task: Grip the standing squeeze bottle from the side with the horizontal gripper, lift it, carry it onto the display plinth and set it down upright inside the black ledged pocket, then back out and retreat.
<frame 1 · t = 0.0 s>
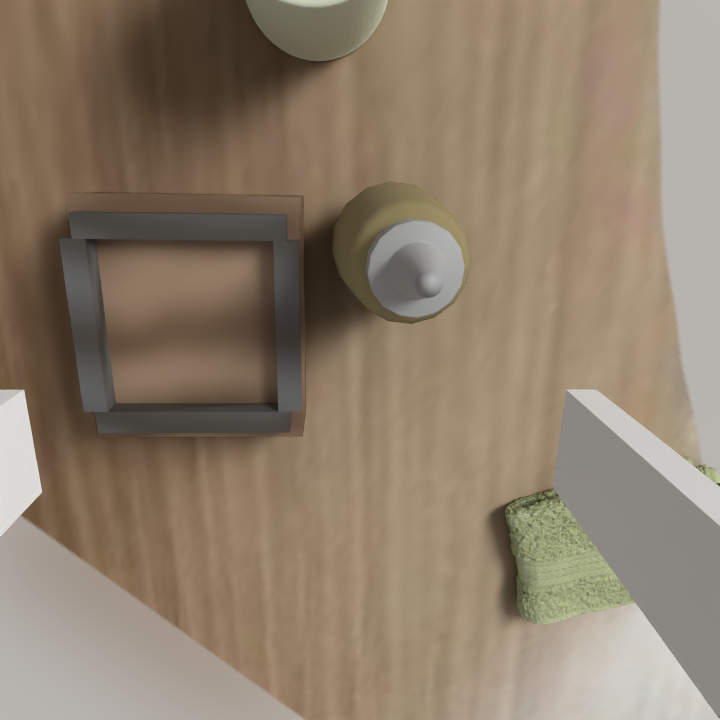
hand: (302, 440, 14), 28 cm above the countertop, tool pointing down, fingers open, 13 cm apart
washcloth: (603, 531, 49), on the countertop
squeeze bottle: (387, 240, 40), on the countertop
display plinth: (209, 307, 41), on the countertop
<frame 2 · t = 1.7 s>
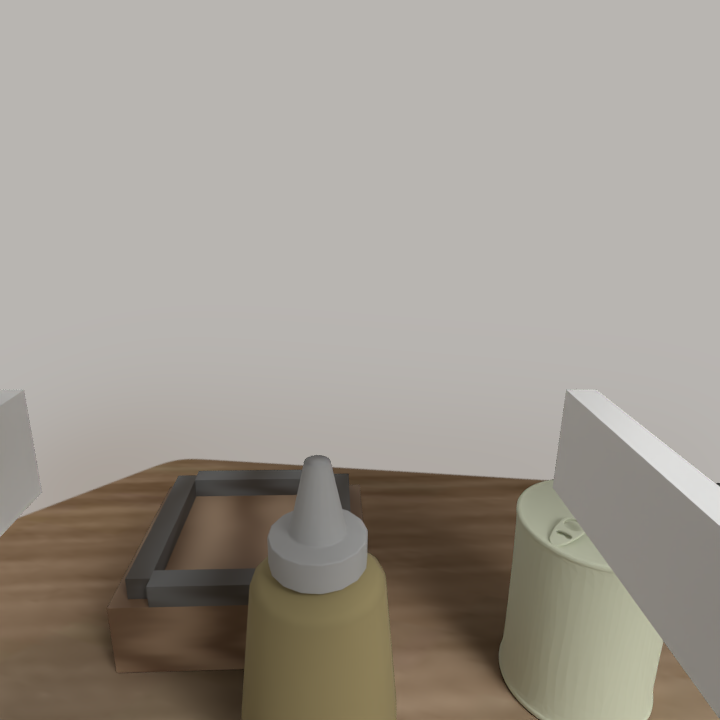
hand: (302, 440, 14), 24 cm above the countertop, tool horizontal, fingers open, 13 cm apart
can: (571, 675, 36), on the countertop
display plinth: (258, 592, 42), on the countertop
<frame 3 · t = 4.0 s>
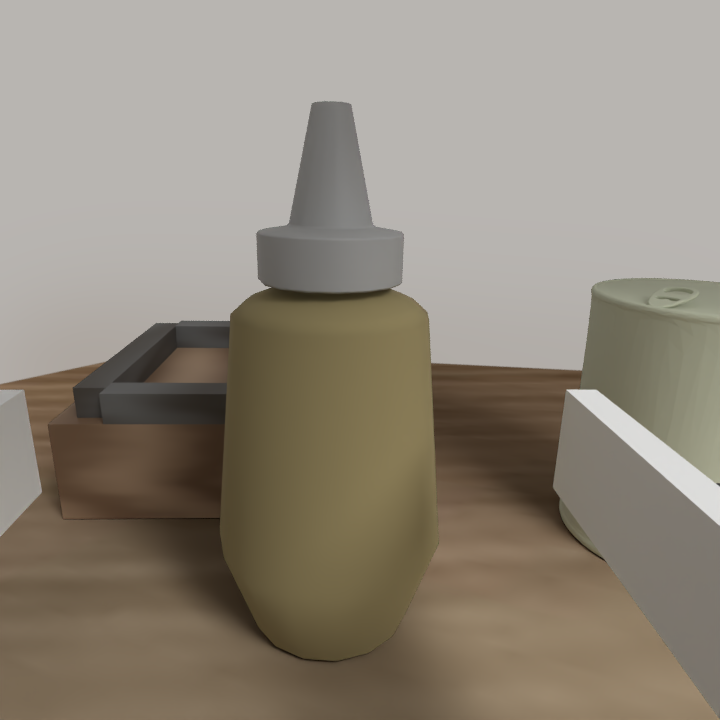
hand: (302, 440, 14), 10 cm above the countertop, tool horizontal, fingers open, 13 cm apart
can: (656, 530, 27), on the countertop
squeeze bottle: (330, 608, 22), on the countertop
display plinth: (250, 452, 34), on the countertop
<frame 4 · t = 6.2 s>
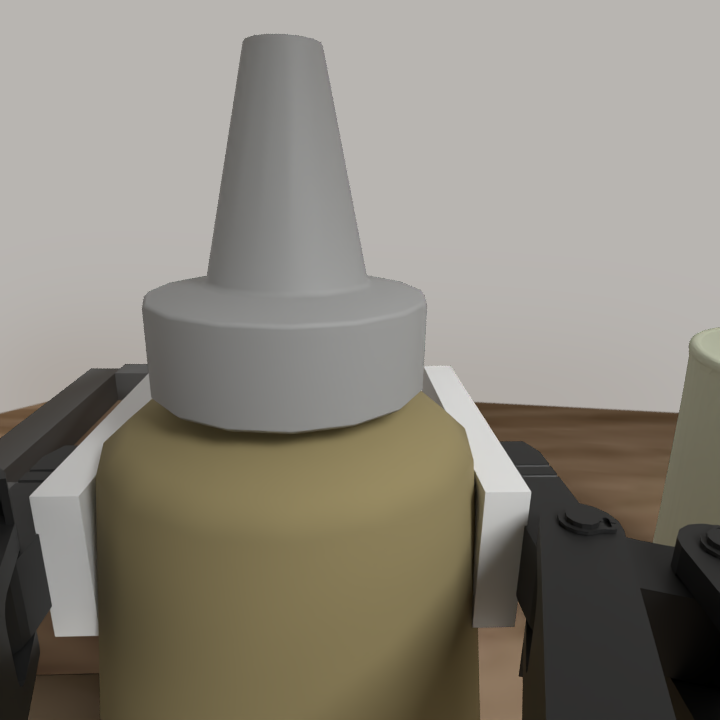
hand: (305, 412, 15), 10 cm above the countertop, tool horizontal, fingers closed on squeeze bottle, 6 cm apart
display plinth: (208, 544, 26), on the countertop
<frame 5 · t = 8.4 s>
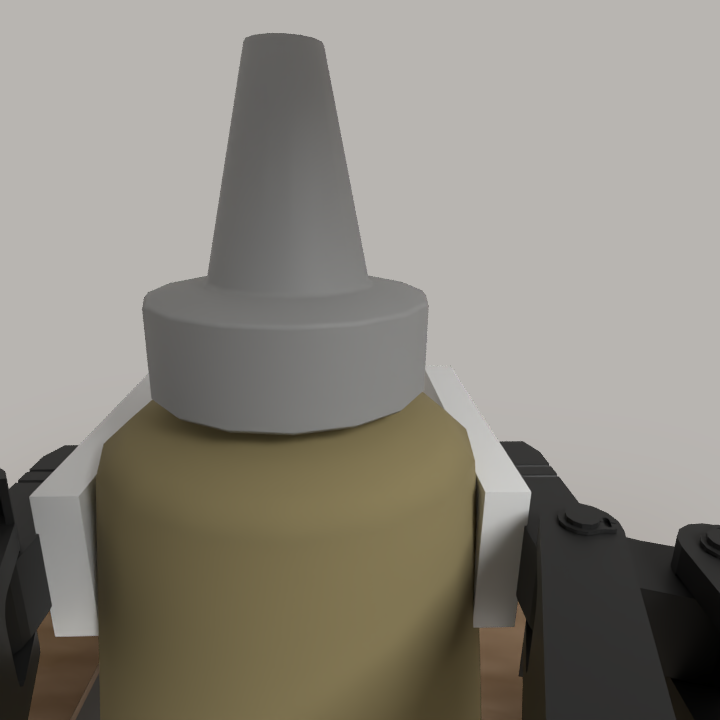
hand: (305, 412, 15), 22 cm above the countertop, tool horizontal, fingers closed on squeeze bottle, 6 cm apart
when the fingers open (16 cm above the countertop, at t = 10.6 s): squeeze bottle drops 1 cm, resting on display plinth.
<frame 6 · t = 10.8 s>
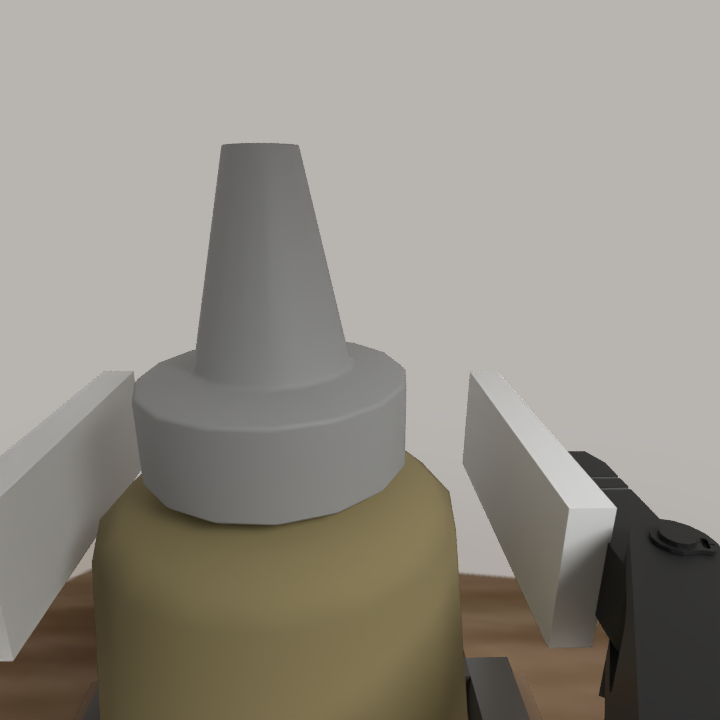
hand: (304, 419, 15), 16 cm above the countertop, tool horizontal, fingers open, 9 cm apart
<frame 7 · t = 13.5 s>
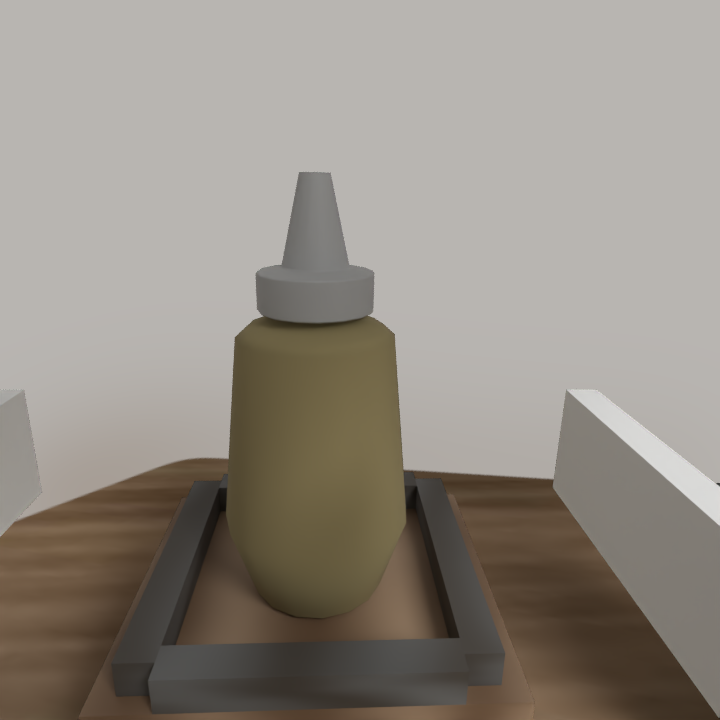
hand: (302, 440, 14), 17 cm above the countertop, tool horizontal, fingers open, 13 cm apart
squeeze bottle: (318, 579, 26), point 5 cm above the countertop, touching display plinth
display plinth: (317, 659, 28), on the countertop
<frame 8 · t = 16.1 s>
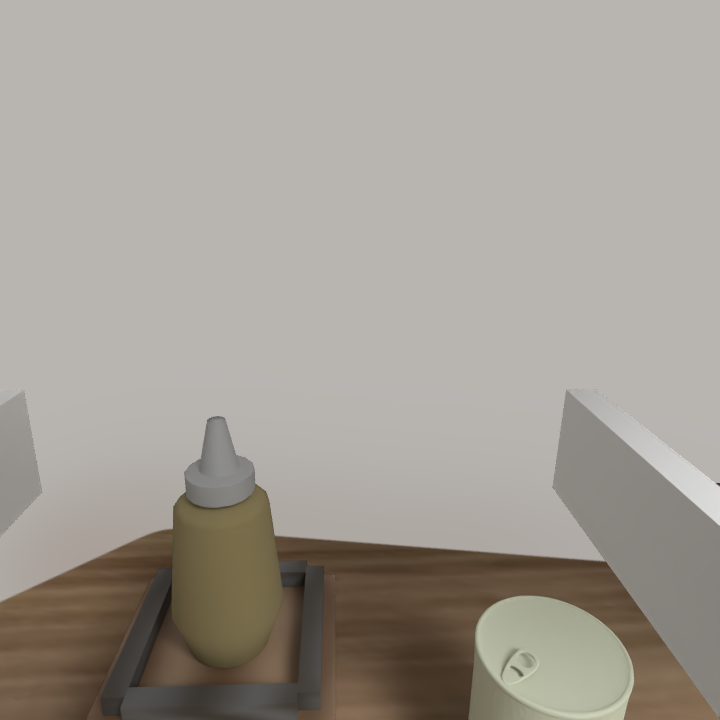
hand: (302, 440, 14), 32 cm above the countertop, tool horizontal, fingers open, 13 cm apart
squeeze bottle: (231, 640, 42), point 5 cm above the countertop, touching display plinth
display plinth: (233, 689, 44), on the countertop
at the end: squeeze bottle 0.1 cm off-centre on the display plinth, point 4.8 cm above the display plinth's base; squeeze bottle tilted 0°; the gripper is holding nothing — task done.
